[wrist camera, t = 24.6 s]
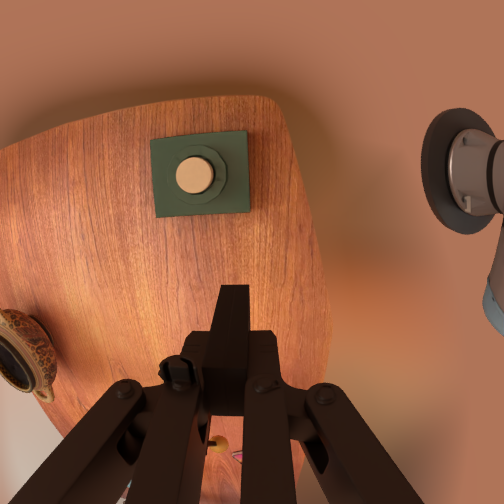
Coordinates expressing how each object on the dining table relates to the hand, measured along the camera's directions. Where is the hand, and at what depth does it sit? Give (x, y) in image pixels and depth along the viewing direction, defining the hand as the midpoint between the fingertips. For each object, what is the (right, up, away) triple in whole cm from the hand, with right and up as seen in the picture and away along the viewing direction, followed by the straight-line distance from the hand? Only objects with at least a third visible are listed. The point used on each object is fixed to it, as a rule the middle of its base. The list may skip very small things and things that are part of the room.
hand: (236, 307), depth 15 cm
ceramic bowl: (-44, -14, +27) cm, 54 cm away
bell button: (-5, +12, +15) cm, 20 cm away
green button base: (-6, +13, +19) cm, 23 cm away
